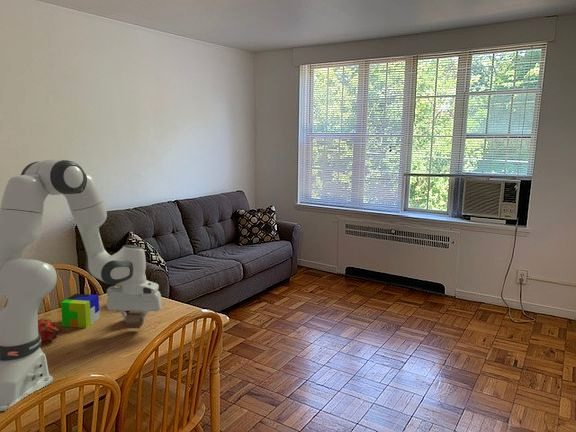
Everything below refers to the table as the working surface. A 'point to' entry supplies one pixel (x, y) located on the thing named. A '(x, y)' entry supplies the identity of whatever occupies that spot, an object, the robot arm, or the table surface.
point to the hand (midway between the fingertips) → (134, 320)
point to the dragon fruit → (47, 330)
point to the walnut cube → (134, 319)
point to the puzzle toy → (80, 310)
